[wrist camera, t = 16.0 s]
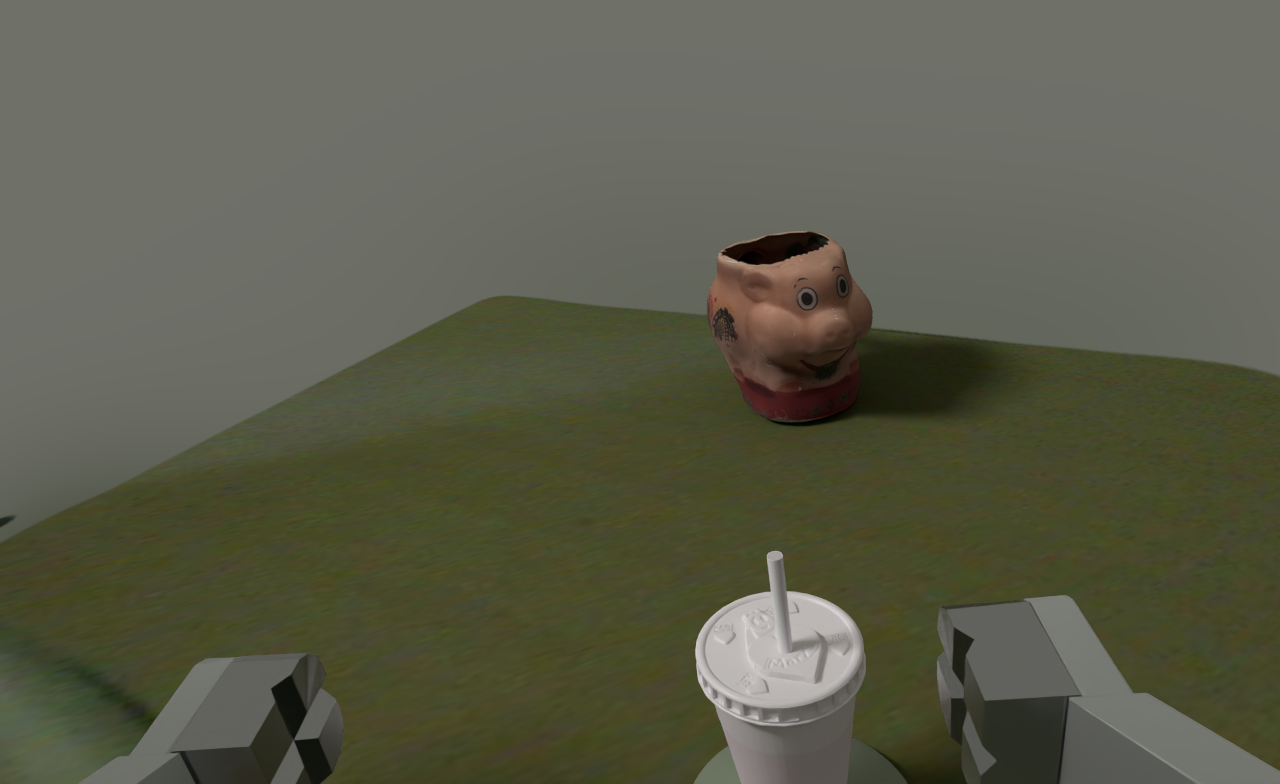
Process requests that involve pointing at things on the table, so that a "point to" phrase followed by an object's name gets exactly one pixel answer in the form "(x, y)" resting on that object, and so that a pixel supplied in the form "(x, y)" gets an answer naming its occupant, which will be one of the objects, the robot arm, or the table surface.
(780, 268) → the cartoon character mug
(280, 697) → the robot arm
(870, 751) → the rubber pad
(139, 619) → the table surface
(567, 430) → the table surface
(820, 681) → the smoothie
